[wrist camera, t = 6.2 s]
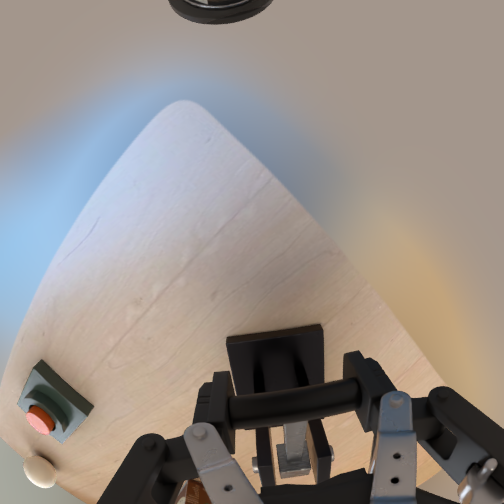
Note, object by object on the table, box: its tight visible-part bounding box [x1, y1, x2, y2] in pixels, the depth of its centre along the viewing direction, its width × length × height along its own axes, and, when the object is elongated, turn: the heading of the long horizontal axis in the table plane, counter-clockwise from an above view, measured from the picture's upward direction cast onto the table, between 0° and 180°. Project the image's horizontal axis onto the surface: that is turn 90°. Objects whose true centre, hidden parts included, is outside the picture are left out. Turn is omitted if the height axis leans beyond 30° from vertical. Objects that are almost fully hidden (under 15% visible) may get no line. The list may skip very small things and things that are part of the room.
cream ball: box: [23, 456, 56, 488], centre depth 30 cm, size 7×7×7 cm
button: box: [26, 405, 55, 435], centre depth 25 cm, size 4×4×2 cm
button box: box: [17, 360, 94, 444], centre depth 27 cm, size 12×9×4 cm
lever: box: [228, 377, 361, 479], centre depth 14 cm, size 13×6×2 cm, turn 8°
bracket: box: [226, 324, 334, 487], centre depth 22 cm, size 12×9×13 cm
